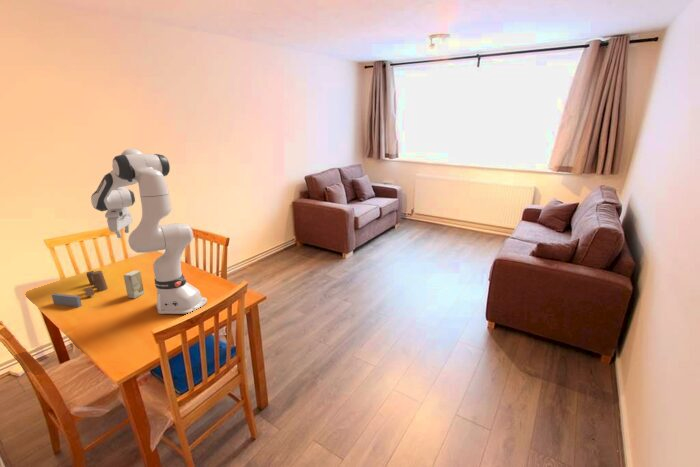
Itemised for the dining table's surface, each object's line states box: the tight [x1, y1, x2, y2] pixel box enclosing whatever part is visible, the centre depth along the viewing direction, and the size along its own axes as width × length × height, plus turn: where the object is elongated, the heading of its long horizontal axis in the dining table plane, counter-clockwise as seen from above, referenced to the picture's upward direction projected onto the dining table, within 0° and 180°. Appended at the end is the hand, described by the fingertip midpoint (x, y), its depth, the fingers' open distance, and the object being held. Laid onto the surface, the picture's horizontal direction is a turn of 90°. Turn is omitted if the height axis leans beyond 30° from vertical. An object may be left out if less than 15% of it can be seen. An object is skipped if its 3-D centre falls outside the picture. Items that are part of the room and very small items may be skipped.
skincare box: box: [123, 270, 145, 299], centre depth 166 cm, size 6×4×12 cm
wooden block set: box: [83, 270, 108, 298], centre depth 171 cm, size 18×9×10 cm, turn 38°
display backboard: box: [51, 292, 83, 308], centre depth 157 cm, size 14×2×5 cm, turn 79°
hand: (123, 235), depth 186 cm, fingers open, 8 cm apart
